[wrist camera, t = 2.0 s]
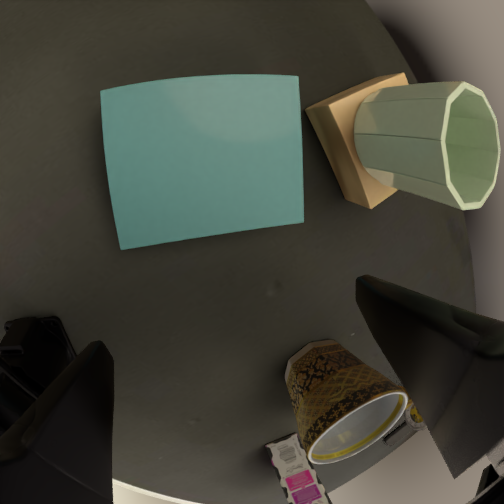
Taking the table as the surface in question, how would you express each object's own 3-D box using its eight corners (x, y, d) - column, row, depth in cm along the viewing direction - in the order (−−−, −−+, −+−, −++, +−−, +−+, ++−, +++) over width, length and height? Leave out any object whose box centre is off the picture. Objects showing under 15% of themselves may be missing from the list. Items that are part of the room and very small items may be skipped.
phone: (384, 441, 44) (440, 394, 44) (382, 438, 45) (438, 392, 45) (390, 447, 48) (441, 404, 47) (388, 444, 48) (439, 402, 48)
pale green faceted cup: (421, 182, 20) (496, 206, 13) (351, 185, 18) (436, 213, 11) (421, 98, 17) (499, 100, 11) (348, 83, 16) (436, 68, 9)
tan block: (406, 158, 23) (434, 163, 20) (344, 199, 22) (370, 209, 19) (376, 77, 19) (404, 72, 16) (303, 109, 19) (328, 104, 16)
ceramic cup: (262, 401, 29) (296, 474, 20) (277, 330, 25) (328, 412, 16) (358, 380, 32) (401, 434, 23) (384, 315, 29) (444, 368, 20)
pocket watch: (376, 403, 37) (411, 446, 28) (417, 374, 38) (454, 411, 29) (376, 423, 40) (405, 462, 31) (413, 398, 41) (444, 432, 32)
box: (280, 208, 21) (304, 222, 18) (129, 230, 19) (120, 250, 15) (274, 86, 18) (298, 75, 14) (113, 101, 15) (100, 90, 12)
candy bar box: (261, 445, 32) (305, 544, 18) (296, 431, 33) (347, 526, 18) (279, 468, 37) (315, 545, 22) (307, 457, 38) (347, 532, 23)
